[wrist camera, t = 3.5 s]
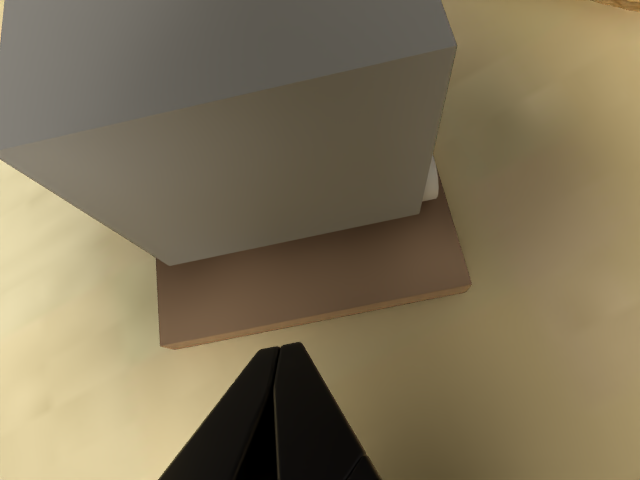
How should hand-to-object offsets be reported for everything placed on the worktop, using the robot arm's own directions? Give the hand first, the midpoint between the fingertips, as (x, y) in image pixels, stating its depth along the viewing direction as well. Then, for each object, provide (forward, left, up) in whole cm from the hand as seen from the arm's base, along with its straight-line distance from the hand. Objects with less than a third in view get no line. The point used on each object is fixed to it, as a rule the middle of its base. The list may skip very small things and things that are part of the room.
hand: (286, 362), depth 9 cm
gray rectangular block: (+7, +5, -4) cm, 10 cm away
